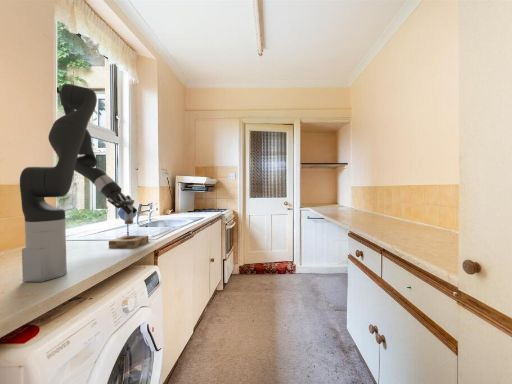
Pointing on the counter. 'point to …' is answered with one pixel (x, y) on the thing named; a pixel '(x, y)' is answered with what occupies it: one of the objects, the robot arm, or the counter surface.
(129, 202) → the pin
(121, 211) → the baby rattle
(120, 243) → the hole block
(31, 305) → the counter surface
